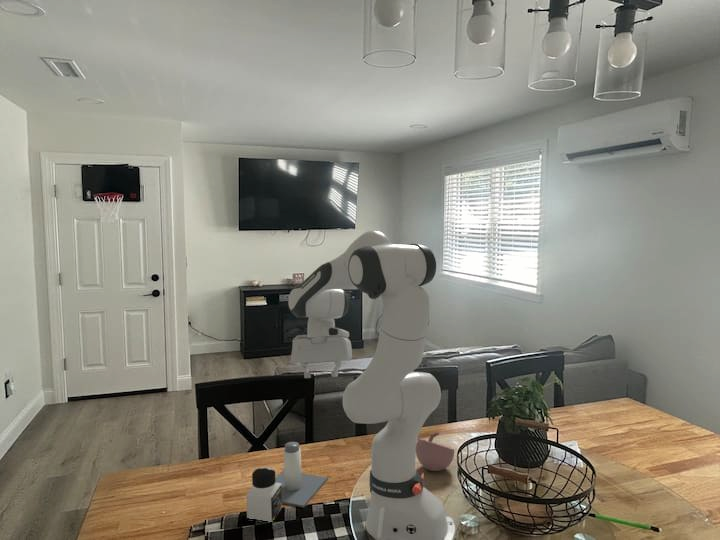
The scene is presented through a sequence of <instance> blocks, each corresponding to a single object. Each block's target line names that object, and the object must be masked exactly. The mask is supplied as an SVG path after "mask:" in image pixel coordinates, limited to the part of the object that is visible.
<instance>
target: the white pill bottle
mask: <svg viewBox="0 0 720 540" xmlns="http://www.w3.org/2000/svg"><path fill="white" fill-rule="evenodd" d="M301 451H302V449H301V447H300V443H299V442H297V441H289V442H286V443H284V449H283V470H284V480H285V489H286V490H289V491H295V490H298V489H300V488H301V487H302V473H303V472H302V454H301V453H302V452H301Z"/></svg>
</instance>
